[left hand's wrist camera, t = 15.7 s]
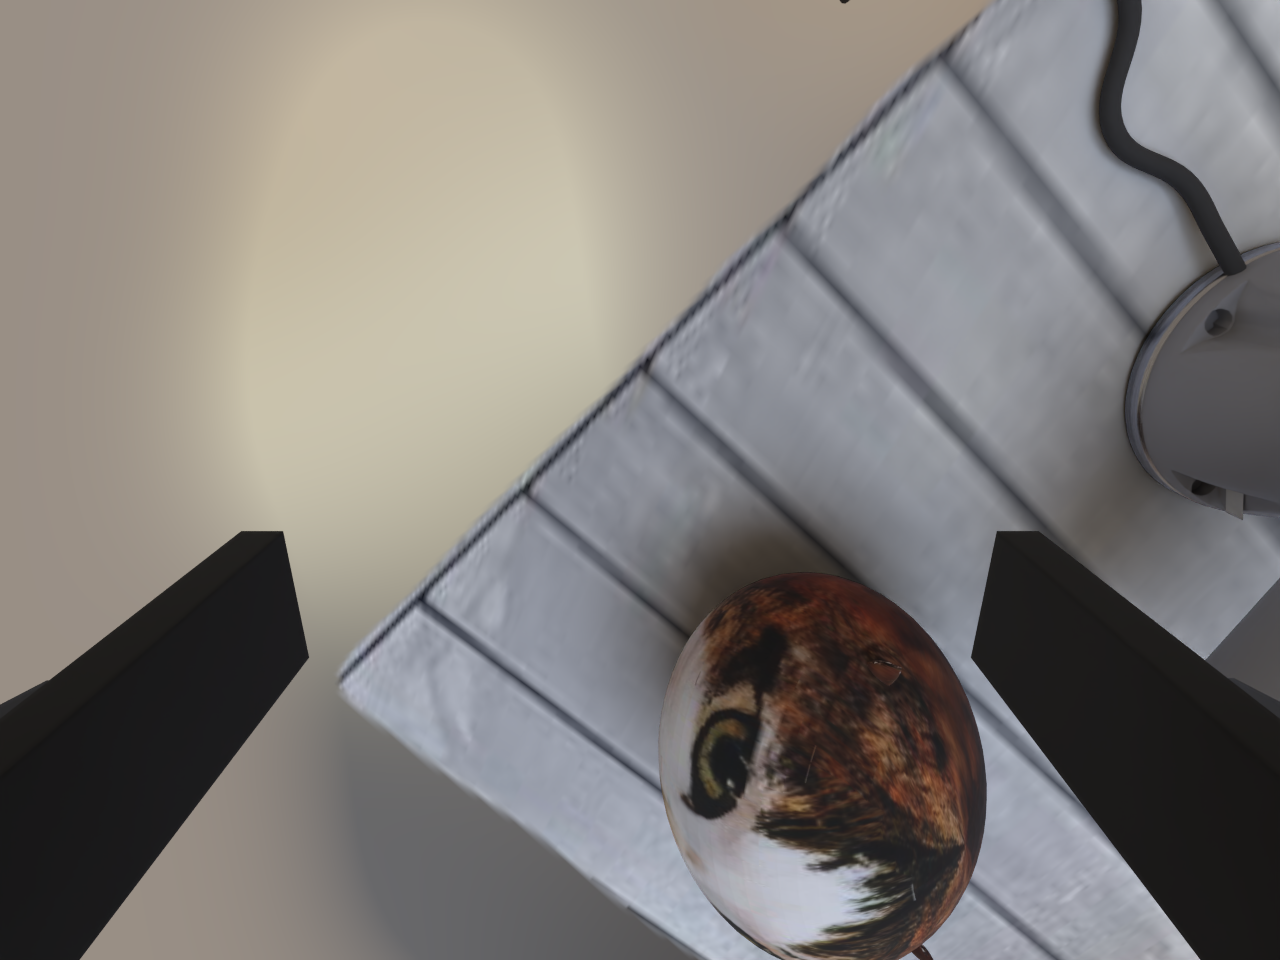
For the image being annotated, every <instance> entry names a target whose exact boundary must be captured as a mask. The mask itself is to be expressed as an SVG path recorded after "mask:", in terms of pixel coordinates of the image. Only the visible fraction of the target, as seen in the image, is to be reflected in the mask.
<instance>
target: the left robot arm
mask: <svg viewBox="0 0 1280 960" xmlns="http://www.w3.org/2000/svg"><path fill="white" fill-rule="evenodd" d="M848 1H850V0H840V2H841V3H844V4H846V3H847V2H848ZM1117 3H1118V13H1119V22H1118V31H1117V37H1116V41H1115V46H1114V49H1113V53H1112V56H1111V59H1110V62H1109V66H1108V69H1107V72H1106V75H1105V79H1104V83H1103V87H1102V91H1101V97H1100V105H1099V117H1100V125H1101V129H1102V133H1103V136H1104V138H1105V140H1106V142H1107V144H1108V146H1109V147H1110V149H1111V150H1112V152H1113V153H1114V154H1115V155H1116V156H1117V157H1118V158H1119V159H1121V160H1122V161H1124V162H1125V163H1127V164H1129V165H1130V166H1132V167H1134V168H1137V169H1139V170H1141V171H1144V172H1146V173H1149V174H1151V175H1153V176H1156V177H1158V178H1160V179H1162V180H1163V181H1165V182H1167V183H1168V184H1170V185H1171V186H1172V187H1174V188H1175V189H1176V190H1177V191H1178V192H1179V194H1180V195H1181V196H1182V197H1183V199H1184V200H1185V201H1186V203H1187V205H1188V206H1189V208H1190V210H1191V212H1192V214H1193V216H1194V218H1195V220H1196V222H1197V224H1198V226H1199V229H1200V231H1201V232H1202V234H1203V236H1204V238H1205V240H1206V242H1207V243H1208V245H1209V247H1210V249H1211V251H1212V252H1213V254H1214V256H1215V258H1216V260H1217V262H1218V263H1219V265H1220V266H1218V267H1216V268H1215V269H1213V270H1212V271H1210V272H1209V273H1207V274H1206V275H1204V276H1203V277H1202V278H1201V279H1199V280H1198V281H1197V282H1195V283H1194V284H1193V285H1192V286H1191V287H1189V288H1188V289H1187V290H1186V291H1185V292H1184V293H1183V294H1182V295H1181V296H1180V297H1179V298H1178V299H1177V300H1176V301H1175V302H1174V303H1173V304H1172V305H1171V306H1170V307H1169V308H1168V309H1167V311H1166V312H1165V313H1164V314H1163V315H1162V317H1161V318H1160V319H1159V321H1158V322H1157V323H1156V325H1155V326H1154V328H1153V329H1152V331H1151V332H1150V334H1149V336H1148V337H1147V339H1146V340H1145V342H1144V344H1143V346H1142V348H1141V350H1140V352H1139V354H1138V356H1137V359H1136V361H1135V364H1134V366H1133V369H1132V373H1131V376H1130V379H1129V383H1128V389H1127V394H1126V404H1125V419H1126V427H1127V433H1128V437H1129V441H1130V443H1131V446H1132V449H1133V451H1134V453H1135V455H1136V457H1137V459H1138V460H1139V462H1140V463H1141V465H1142V466H1143V467H1144V469H1145V470H1146V471H1147V472H1148V473H1149V474H1150V475H1151V476H1152V477H1153V478H1154V479H1155V480H1156V481H1158V482H1159V483H1160V484H1162V485H1163V486H1165V487H1166V488H1168V489H1170V490H1172V491H1174V492H1176V493H1178V494H1180V495H1182V496H1184V497H1186V498H1188V499H1190V500H1192V501H1194V502H1196V503H1199V504H1202V505H1205V506H1209V507H1212V508H1216V509H1219V510H1223V511H1226V512H1227V513H1229V514H1231V515H1233V516H1235V517H1237V518H1239V519H1241V520H1243V514H1251V515H1260V516H1268V517H1277V518H1280V242H1277V243H1273V244H1269V245H1265V246H1262V247H1259V248H1256V249H1253V250H1250V251H1248V252H1245V253H1243V254H1241V255H1240V253H1239V251H1238V249H1237V247H1236V246H1235V244H1234V242H1233V240H1232V238H1231V236H1230V235H1229V233H1228V231H1227V229H1226V227H1225V225H1224V224H1223V222H1222V220H1221V218H1220V216H1219V213H1218V211H1217V209H1216V207H1215V205H1214V203H1213V201H1212V199H1211V197H1210V195H1209V193H1208V192H1207V190H1206V189H1205V187H1204V186H1203V184H1202V183H1201V182H1200V181H1199V179H1198V178H1197V177H1196V176H1195V175H1194V174H1193V173H1192V172H1191V171H1189V170H1188V169H1187V168H1185V167H1184V166H1182V165H1181V164H1179V163H1177V162H1176V161H1173V160H1171V159H1169V158H1167V157H1165V156H1162V155H1160V154H1157V153H1155V152H1153V151H1150V150H1148V149H1146V148H1144V147H1143V146H1141V145H1140V144H1138V143H1137V142H1136V141H1135V140H1134V139H1133V138H1132V137H1131V136H1130V135H1129V133H1128V132H1127V130H1126V128H1125V125H1124V123H1123V119H1122V114H1121V98H1122V93H1123V88H1124V84H1125V80H1126V77H1127V73H1128V70H1129V67H1130V64H1131V61H1132V58H1133V55H1134V51H1135V48H1136V44H1137V40H1138V36H1139V31H1140V25H1141V14H1142V4H1141V0H1117ZM308 658H309V655H308V650H307V646H306V641H305V636H304V631H303V626H302V621H301V616H300V611H299V607H298V602H297V597H296V592H295V587H294V582H293V578H292V573H291V568H290V563H289V558H288V553H287V548H286V544H285V539H284V534H283V531H241V532H240V533H238V534H237V535H236V536H235V537H233V538H232V539H231V540H229V541H228V542H227V543H226V544H224V545H223V546H222V547H220V548H219V549H218V550H217V551H215V552H214V553H213V554H211V555H210V556H209V557H208V558H206V559H205V560H204V561H202V562H201V563H200V564H199V565H197V566H196V567H195V568H193V569H192V570H191V571H190V572H188V573H187V574H186V575H184V576H183V577H182V578H181V579H179V580H178V581H177V582H175V583H174V584H173V585H172V586H170V587H169V588H168V589H166V590H165V591H164V592H163V593H161V594H160V595H159V596H157V597H156V598H155V599H154V600H152V601H151V602H150V603H148V604H147V605H146V606H145V607H143V608H142V609H141V610H139V611H138V612H137V613H135V614H134V615H133V616H132V617H130V618H129V619H128V620H126V621H125V622H124V623H123V624H121V625H120V626H119V627H117V628H116V629H115V630H114V631H112V632H111V633H110V634H109V635H107V636H106V637H105V638H103V639H102V640H101V641H99V642H98V643H97V644H96V645H94V646H93V647H92V648H91V649H89V650H88V651H87V652H85V653H84V654H83V655H81V656H80V657H79V658H78V659H76V660H75V661H74V662H72V663H71V664H70V665H69V666H67V667H66V668H65V669H63V670H62V671H61V672H60V673H58V674H57V675H56V676H54V677H53V678H52V679H51V680H49V681H45V682H43V683H41V684H39V685H37V686H35V687H33V688H31V689H29V690H28V691H26V692H24V693H22V694H20V695H18V696H16V697H14V698H12V699H10V700H8V701H6V702H4V703H2V704H1V705H0V960H80V958H81V957H82V956H83V954H84V953H85V952H86V951H87V949H88V948H89V947H90V945H91V944H92V943H93V941H94V940H95V939H96V937H97V936H98V935H99V933H100V932H101V931H102V929H103V928H104V927H105V925H106V924H107V923H108V922H109V920H110V919H111V918H112V916H113V915H114V914H115V912H116V911H117V910H118V908H119V907H120V906H121V904H122V903H123V902H124V900H125V899H126V898H127V897H128V895H129V894H130V893H131V891H132V890H133V889H134V887H135V886H136V885H137V883H138V882H139V881H140V879H141V878H142V877H143V875H144V874H145V873H146V871H147V870H148V869H149V868H150V866H151V865H152V864H153V862H154V861H155V860H156V858H157V857H158V856H159V854H160V853H161V852H162V850H163V849H164V848H165V846H166V845H167V844H168V843H169V841H170V840H171V839H172V837H173V836H174V835H175V833H176V832H177V831H178V829H179V828H180V827H181V825H182V824H183V823H184V821H185V820H186V819H187V818H188V816H189V815H190V814H191V812H192V811H193V810H194V808H195V807H196V806H197V804H198V803H199V802H200V800H201V799H202V798H203V796H204V795H205V794H206V792H207V791H208V790H209V789H210V787H211V786H212V785H213V783H214V782H215V781H216V779H217V778H218V777H219V775H220V774H221V773H222V771H223V770H224V769H225V767H226V766H227V765H228V764H229V762H230V761H231V760H232V758H233V757H234V756H235V754H236V753H237V752H238V750H239V749H240V748H241V746H242V745H243V744H244V742H245V741H246V740H247V738H248V737H249V736H250V734H251V733H252V732H253V731H254V729H255V728H256V727H257V725H258V724H259V723H260V721H261V720H262V719H263V717H264V716H265V715H266V713H267V712H268V711H269V710H270V708H271V707H272V706H273V704H274V703H275V702H276V700H277V699H278V698H279V696H280V695H281V694H282V692H283V691H284V690H285V688H286V687H287V686H288V685H289V683H290V682H291V680H292V679H293V678H294V677H295V675H296V674H297V673H298V671H299V670H300V669H301V667H302V666H303V665H304V663H305V662H306V661H307V659H308ZM971 658H972V659H973V661H974V662H975V663H976V665H977V666H978V667H979V669H980V670H981V671H982V673H983V674H984V675H985V677H986V678H987V679H988V681H989V682H990V683H991V685H992V686H993V687H994V688H995V690H996V691H997V692H998V694H999V695H1000V696H1001V698H1002V699H1003V700H1004V702H1005V703H1006V704H1007V706H1008V707H1009V708H1010V710H1011V711H1012V712H1013V713H1014V715H1015V716H1016V717H1017V719H1018V720H1019V721H1020V723H1021V724H1022V725H1023V727H1024V728H1025V729H1026V731H1027V732H1028V733H1029V735H1030V736H1031V737H1032V739H1033V740H1034V741H1035V742H1036V744H1037V745H1038V746H1039V748H1040V749H1041V750H1042V752H1043V753H1044V754H1045V756H1046V757H1047V758H1048V760H1049V761H1050V762H1051V764H1052V765H1053V766H1054V767H1055V769H1056V770H1057V771H1058V773H1059V774H1060V775H1061V777H1062V778H1063V779H1064V781H1065V782H1066V783H1067V785H1068V786H1069V787H1070V789H1071V790H1072V791H1073V792H1074V794H1075V795H1076V796H1077V798H1078V799H1079V800H1080V802H1081V803H1082V804H1083V806H1084V807H1085V808H1086V810H1087V811H1088V812H1089V814H1090V815H1091V816H1092V818H1093V819H1094V820H1095V821H1096V823H1097V824H1098V825H1099V827H1100V828H1101V829H1102V831H1103V832H1104V833H1105V835H1106V836H1107V837H1108V839H1109V840H1110V841H1111V843H1112V844H1113V845H1114V846H1115V848H1116V849H1117V850H1118V852H1119V853H1120V854H1121V856H1122V857H1123V858H1124V860H1125V861H1126V862H1127V864H1128V865H1129V866H1130V868H1131V869H1132V870H1133V872H1134V873H1135V874H1136V875H1137V877H1138V878H1139V879H1140V881H1141V882H1142V883H1143V885H1144V886H1145V887H1146V889H1147V890H1148V891H1149V893H1150V894H1151V895H1152V897H1153V898H1154V899H1155V900H1156V902H1157V903H1158V904H1159V906H1160V907H1161V908H1162V910H1163V911H1164V912H1165V914H1166V915H1167V916H1168V918H1169V919H1170V920H1171V922H1172V923H1173V924H1174V925H1175V927H1176V928H1177V929H1178V931H1179V932H1180V933H1181V935H1182V936H1183V937H1184V939H1185V940H1186V941H1187V943H1188V944H1189V945H1190V947H1191V948H1192V949H1193V951H1194V952H1195V953H1196V954H1197V956H1198V957H1199V958H1200V960H1280V578H1279V579H1278V581H1277V582H1276V583H1275V584H1274V585H1273V586H1272V587H1271V588H1270V589H1269V590H1268V592H1267V593H1266V594H1265V595H1264V596H1263V597H1262V598H1261V599H1260V600H1259V602H1258V603H1257V604H1256V605H1255V606H1254V607H1253V608H1252V609H1251V610H1250V612H1249V613H1248V614H1247V615H1246V616H1245V617H1244V618H1243V619H1242V620H1241V621H1240V623H1239V624H1238V625H1237V626H1236V627H1235V628H1234V629H1233V630H1232V631H1231V633H1230V634H1229V635H1228V636H1227V637H1226V638H1225V639H1224V640H1223V641H1222V642H1221V644H1220V645H1219V646H1218V647H1217V648H1216V649H1215V650H1214V651H1213V652H1212V654H1211V655H1210V656H1209V657H1208V658H1207V659H1206V660H1204V659H1202V658H1201V657H1200V656H1199V655H1197V654H1196V653H1195V652H1193V651H1192V650H1191V649H1190V648H1188V647H1187V646H1186V645H1184V644H1183V643H1182V642H1181V641H1179V640H1178V639H1177V638H1175V637H1174V636H1173V635H1172V634H1170V633H1169V632H1168V631H1166V630H1165V629H1164V628H1163V627H1161V626H1160V625H1159V624H1157V623H1156V622H1155V621H1154V620H1152V619H1151V618H1150V617H1148V616H1147V615H1146V614H1145V613H1143V612H1142V611H1141V610H1139V609H1138V608H1137V607H1136V606H1134V605H1133V604H1132V603H1130V602H1129V601H1128V600H1126V599H1125V598H1124V597H1123V596H1121V595H1120V594H1119V593H1117V592H1116V591H1115V590H1114V589H1112V588H1111V587H1110V586H1108V585H1107V584H1106V583H1105V582H1103V581H1102V580H1101V579H1099V578H1098V577H1097V576H1096V575H1094V574H1093V573H1092V572H1090V571H1089V570H1088V569H1087V568H1085V567H1084V566H1083V565H1081V564H1080V563H1079V562H1078V561H1076V560H1075V559H1074V558H1072V557H1071V556H1070V555H1069V554H1067V553H1066V552H1065V551H1063V550H1062V549H1061V548H1060V547H1058V546H1057V545H1056V544H1054V543H1053V542H1052V541H1051V540H1049V539H1048V538H1047V537H1045V536H1044V535H1043V534H1042V533H1040V532H1039V531H997V534H996V539H995V543H994V548H993V553H992V558H991V563H990V568H989V573H988V577H987V582H986V587H985V592H984V597H983V602H982V607H981V611H980V616H979V621H978V626H977V631H976V636H975V641H974V645H973V650H972V655H971Z"/></svg>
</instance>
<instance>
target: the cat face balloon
mask: <svg viewBox="0 0 1280 960" xmlns="http://www.w3.org/2000/svg"><path fill="white" fill-rule="evenodd" d="M659 772H660V782H661V789H662V795H663V799H664V804H665V809H666V813H667V817H668V820H669V823H670V827H671V830H672V833H673V836H674V838H675V841H676V844H677V846H678V848H679V851H680V853H681V855H682V857H683V859H684V861H685V864H686V866H687V868H688V869H689V871H690V873H691V875H692V876H693V878H694V880H695V881H696V883H697V885H698V886H699V888H700V889H701V891H702V892H703V894H704V895H705V896H706V898H707V899H708V900H709V902H710V903H711V904H712V905H713V907H714V908H715V909H716V910H717V912H718V913H719V914H720V915H721V916H722V917H723V918H724V919H725V920H726V921H727V922H728V923H729V924H730V925H731V926H732V927H733V928H734V929H735V930H736V931H737V932H739V933H740V934H741V935H743V936H744V937H745V938H746V939H748V940H749V941H750V942H752V943H753V944H754V945H756V946H757V947H759V948H760V949H762V950H764V951H766V952H767V953H769V954H771V955H773V956H775V957H777V958H779V959H781V960H898V959H900V958H902V957H904V956H905V955H907V954H909V953H910V952H912V953H913V954H914V955H915V956H916V957H917V958H919V959H920V960H933V958H932V957H931V955H930V953H929V952H928V950H927V949H926V948H925V947H924V945H923V943H924V942H925V941H926V940H927V939H929V938H930V937H931V936H932V935H933V934H934V933H935V932H936V931H937V930H938V929H939V928H940V927H941V925H942V924H943V923H944V922H945V921H946V919H947V918H948V917H949V916H950V915H951V913H952V912H953V910H954V908H955V907H956V905H957V904H958V902H959V900H960V899H961V897H962V895H963V893H964V891H965V889H966V887H967V885H968V883H969V881H970V879H971V876H972V874H973V871H974V868H975V865H976V863H977V859H978V855H979V852H980V848H981V843H982V838H983V834H984V826H985V818H986V801H987V783H986V773H985V763H984V756H983V749H982V745H981V740H980V736H979V732H978V728H977V724H976V721H975V718H974V715H973V712H972V709H971V706H970V704H969V701H968V698H967V696H966V694H965V692H964V690H963V688H962V686H961V683H960V681H959V679H958V678H957V676H956V674H955V672H954V670H953V669H952V667H951V665H950V664H949V662H948V660H947V659H946V657H945V656H944V654H943V653H942V651H941V650H940V649H939V647H938V646H937V645H936V643H935V642H934V641H933V640H932V638H931V637H930V636H929V635H928V634H927V633H926V632H925V631H924V629H923V628H922V627H921V626H920V625H919V624H918V623H917V622H916V621H915V620H914V619H913V618H912V617H911V616H910V615H908V614H907V613H906V612H905V611H904V610H902V609H901V608H900V607H899V606H897V605H896V604H895V603H893V602H892V601H890V600H889V599H887V598H886V597H884V596H883V595H881V594H879V593H878V592H876V591H874V590H872V589H870V588H868V587H866V586H864V585H862V584H859V583H857V582H854V581H851V580H848V579H845V578H842V577H838V576H833V575H828V574H822V573H809V572H800V573H788V574H781V575H777V576H773V577H769V578H765V579H762V580H759V581H757V582H754V583H752V584H750V585H748V586H746V587H744V588H742V589H740V590H738V591H737V592H735V593H733V594H732V595H731V596H729V597H728V598H727V599H725V600H724V601H723V602H721V603H720V604H719V605H718V606H717V607H715V608H714V609H713V610H712V611H711V612H710V613H709V614H708V615H707V617H706V618H705V619H704V620H703V621H702V622H701V624H700V625H699V626H698V627H697V628H696V630H695V631H694V633H693V634H692V635H691V637H690V638H689V640H688V642H687V643H686V645H685V647H684V648H683V650H682V652H681V654H680V656H679V658H678V660H677V663H676V665H675V667H674V670H673V672H672V675H671V678H670V681H669V684H668V687H667V691H666V694H665V698H664V703H663V708H662V713H661V720H660V728H659Z"/></svg>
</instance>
